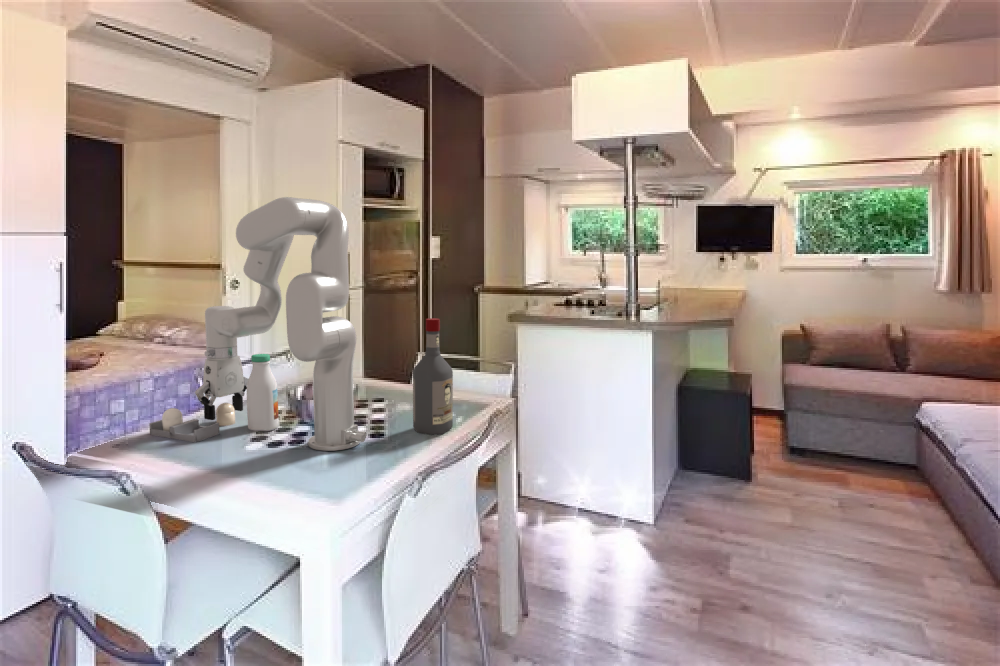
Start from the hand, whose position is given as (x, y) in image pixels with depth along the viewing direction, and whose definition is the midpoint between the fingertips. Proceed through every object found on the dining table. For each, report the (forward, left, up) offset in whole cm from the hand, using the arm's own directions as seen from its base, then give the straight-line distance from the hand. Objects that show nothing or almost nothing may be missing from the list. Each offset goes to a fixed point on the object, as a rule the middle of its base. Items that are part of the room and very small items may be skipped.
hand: (224, 414), depth 165 cm
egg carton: (+1, +12, -3) cm, 12 cm away
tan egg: (-1, 0, -3) cm, 3 cm away
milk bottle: (-12, -2, -3) cm, 12 cm away
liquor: (-54, -19, -3) cm, 57 cm away
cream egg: (+5, +12, -2) cm, 13 cm away
